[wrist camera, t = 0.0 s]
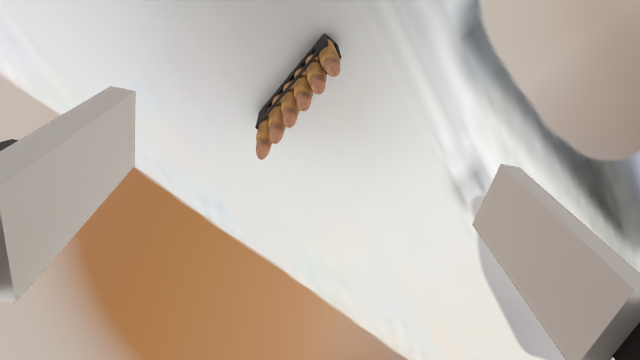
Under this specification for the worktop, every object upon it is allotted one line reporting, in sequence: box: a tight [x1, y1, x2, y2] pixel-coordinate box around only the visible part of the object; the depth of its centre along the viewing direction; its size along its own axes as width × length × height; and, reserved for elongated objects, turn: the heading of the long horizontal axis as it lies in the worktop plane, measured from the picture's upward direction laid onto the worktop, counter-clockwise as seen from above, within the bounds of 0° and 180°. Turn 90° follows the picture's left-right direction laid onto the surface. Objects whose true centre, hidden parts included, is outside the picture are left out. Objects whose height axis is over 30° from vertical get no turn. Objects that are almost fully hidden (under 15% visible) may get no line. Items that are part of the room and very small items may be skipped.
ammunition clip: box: [255, 34, 341, 160], centre depth 35 cm, size 11×2×12 cm, turn 139°
